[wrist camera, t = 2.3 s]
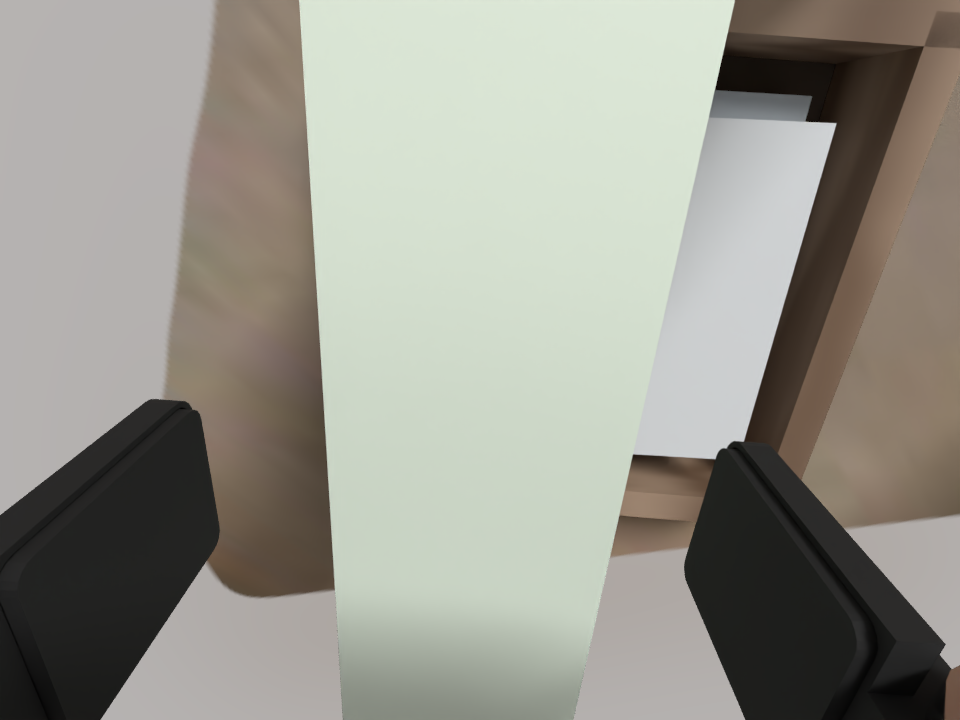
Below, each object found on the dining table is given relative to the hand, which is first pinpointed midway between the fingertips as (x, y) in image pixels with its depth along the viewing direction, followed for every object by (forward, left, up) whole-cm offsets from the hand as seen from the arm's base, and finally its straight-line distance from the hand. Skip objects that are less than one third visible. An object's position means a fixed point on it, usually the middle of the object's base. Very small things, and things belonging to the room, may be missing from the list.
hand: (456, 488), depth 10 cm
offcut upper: (-9, 0, -16) cm, 18 cm away
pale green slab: (0, 0, -18) cm, 18 cm away
